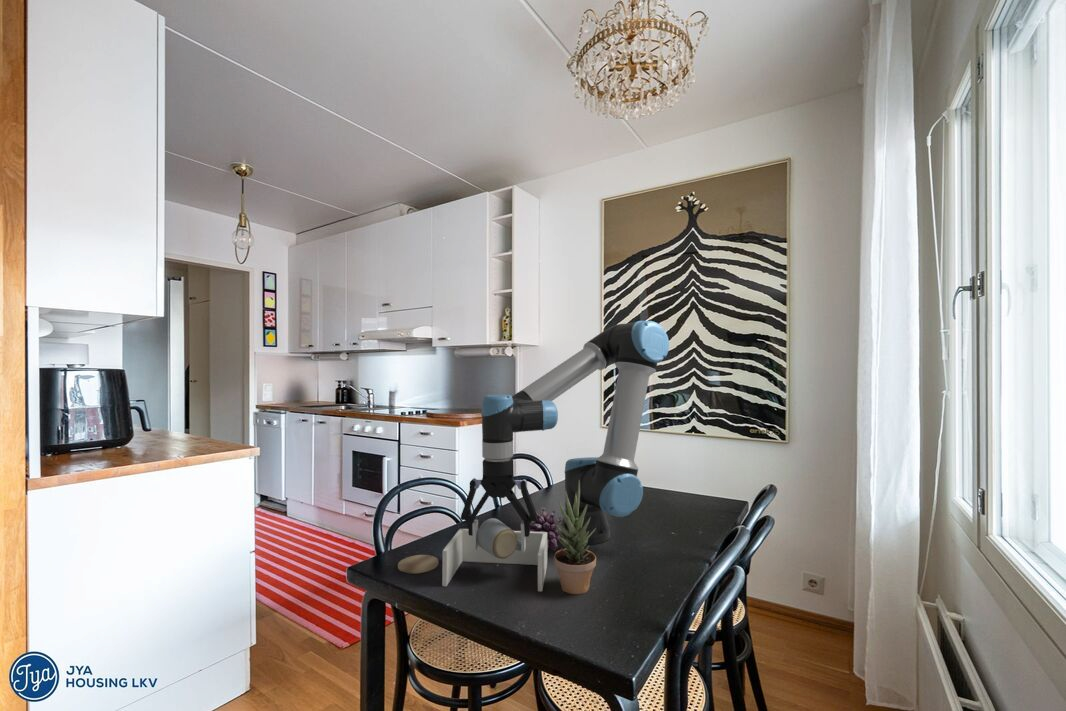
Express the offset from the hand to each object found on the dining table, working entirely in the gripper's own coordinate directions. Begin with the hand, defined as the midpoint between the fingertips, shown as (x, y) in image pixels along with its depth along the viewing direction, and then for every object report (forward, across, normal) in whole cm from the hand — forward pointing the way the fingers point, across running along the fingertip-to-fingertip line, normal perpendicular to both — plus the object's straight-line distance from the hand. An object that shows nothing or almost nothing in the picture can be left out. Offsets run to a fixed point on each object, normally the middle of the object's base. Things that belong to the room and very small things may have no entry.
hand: (499, 549), depth 113 cm
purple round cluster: (+7, -9, -15) cm, 19 cm away
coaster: (+6, +22, -3) cm, 23 cm away
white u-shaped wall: (+6, +1, 0) cm, 6 cm away
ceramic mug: (+1, 0, -1) cm, 2 cm away
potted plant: (+7, -18, +5) cm, 20 cm away
